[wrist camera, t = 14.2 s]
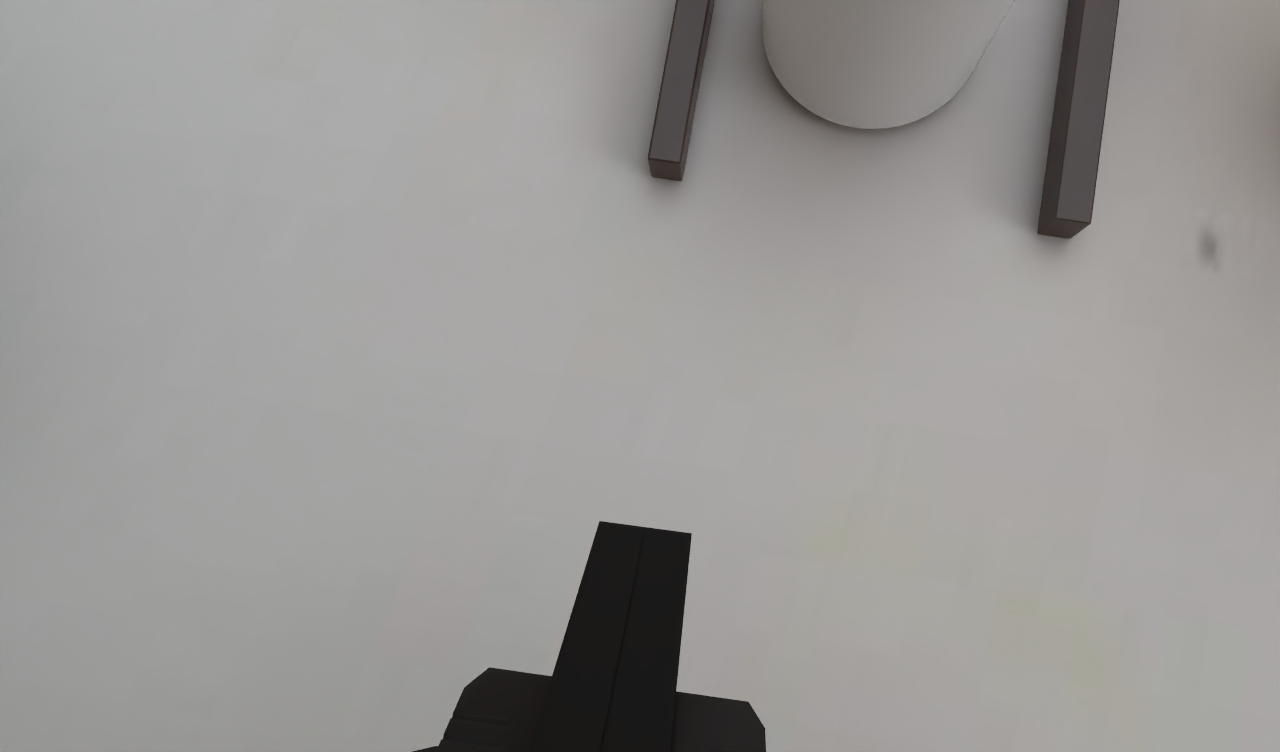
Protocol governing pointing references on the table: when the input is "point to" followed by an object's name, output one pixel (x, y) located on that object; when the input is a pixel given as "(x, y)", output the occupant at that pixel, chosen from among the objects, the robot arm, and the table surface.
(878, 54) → the beverage can
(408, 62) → the table surface
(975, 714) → the table surface
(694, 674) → the table surface
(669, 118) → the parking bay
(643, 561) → the robot arm
